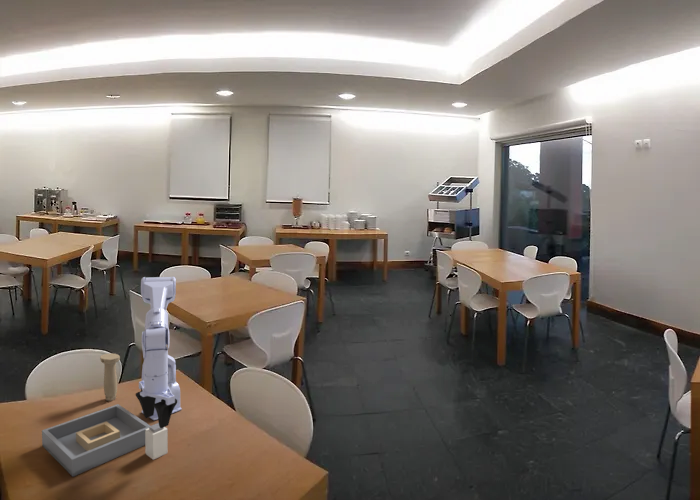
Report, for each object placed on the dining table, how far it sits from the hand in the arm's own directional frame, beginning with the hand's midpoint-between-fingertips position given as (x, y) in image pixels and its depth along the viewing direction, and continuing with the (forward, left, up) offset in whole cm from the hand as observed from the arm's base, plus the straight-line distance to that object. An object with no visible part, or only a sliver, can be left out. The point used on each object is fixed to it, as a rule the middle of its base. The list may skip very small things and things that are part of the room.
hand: (156, 421), depth 113 cm
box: (+8, -16, -9) cm, 20 cm away
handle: (-6, -40, -9) cm, 42 cm away
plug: (0, 0, -9) cm, 9 cm away
